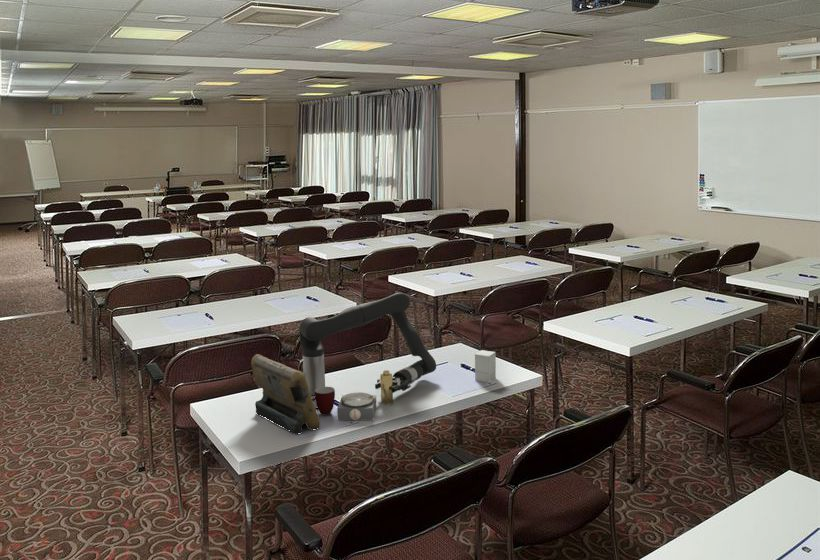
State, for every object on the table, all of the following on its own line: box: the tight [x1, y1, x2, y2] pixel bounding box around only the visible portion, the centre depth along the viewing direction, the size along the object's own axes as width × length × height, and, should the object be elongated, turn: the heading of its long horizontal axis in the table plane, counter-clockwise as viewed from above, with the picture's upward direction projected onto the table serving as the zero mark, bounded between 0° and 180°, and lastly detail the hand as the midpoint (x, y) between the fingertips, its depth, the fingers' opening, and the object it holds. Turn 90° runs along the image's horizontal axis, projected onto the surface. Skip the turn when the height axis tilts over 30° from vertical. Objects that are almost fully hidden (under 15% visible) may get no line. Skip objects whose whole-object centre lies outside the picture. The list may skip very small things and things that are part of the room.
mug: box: [312, 386, 336, 416], centre depth 273 cm, size 10×8×10 cm
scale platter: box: [340, 391, 373, 407], centre depth 273 cm, size 13×13×1 cm
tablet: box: [250, 353, 321, 435], centre depth 266 cm, size 33×14×25 cm, turn 48°
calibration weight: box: [379, 369, 394, 405], centre depth 284 cm, size 5×5×14 cm
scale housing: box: [336, 394, 377, 421], centre depth 273 cm, size 14×15×5 cm
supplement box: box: [474, 349, 497, 383], centre depth 309 cm, size 7×7×13 cm
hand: (383, 388), depth 282 cm, fingers open, 8 cm apart
